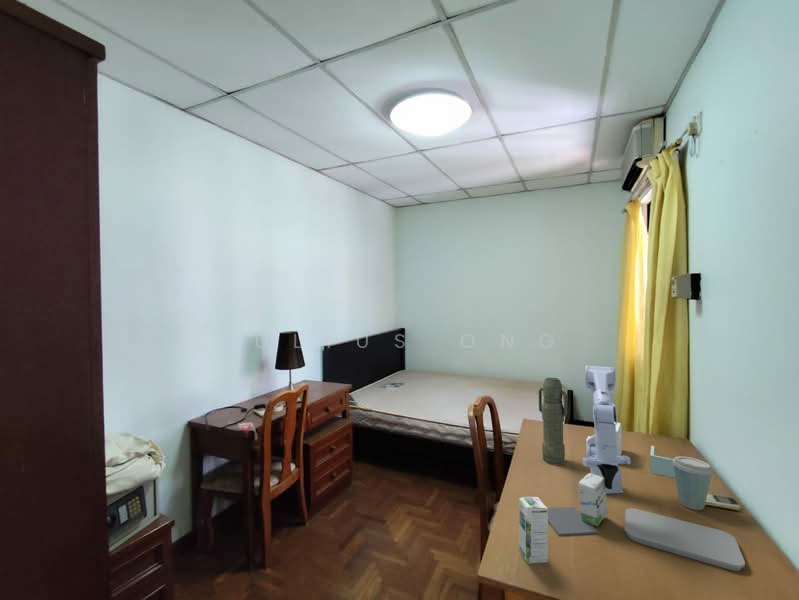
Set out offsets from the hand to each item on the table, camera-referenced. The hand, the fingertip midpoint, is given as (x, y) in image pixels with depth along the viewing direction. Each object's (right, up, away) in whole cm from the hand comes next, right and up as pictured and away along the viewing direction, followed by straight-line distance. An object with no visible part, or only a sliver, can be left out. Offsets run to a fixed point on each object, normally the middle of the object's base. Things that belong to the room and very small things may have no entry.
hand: (607, 487), depth 113 cm
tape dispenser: (+26, -10, +48) cm, 56 cm away
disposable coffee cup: (+33, -10, +8) cm, 35 cm away
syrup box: (-29, -11, -16) cm, 34 cm away
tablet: (+15, -11, -10) cm, 21 cm away
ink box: (-4, -9, 0) cm, 10 cm away
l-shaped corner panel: (+43, -11, +32) cm, 54 cm away
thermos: (+1, -11, +43) cm, 44 cm away
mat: (-13, -10, 0) cm, 16 cm away
